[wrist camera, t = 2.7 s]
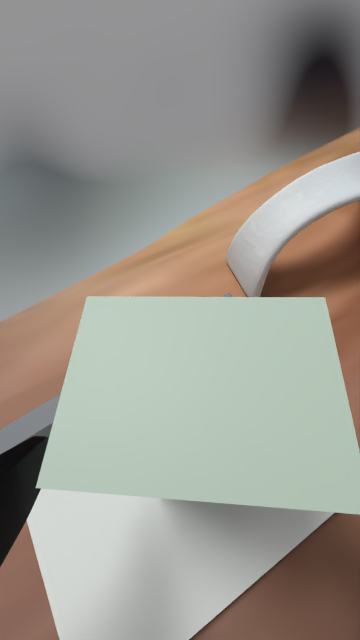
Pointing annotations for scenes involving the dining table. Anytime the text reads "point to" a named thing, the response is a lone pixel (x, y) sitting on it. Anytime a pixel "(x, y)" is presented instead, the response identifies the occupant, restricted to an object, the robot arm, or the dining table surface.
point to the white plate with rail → (147, 553)
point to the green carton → (206, 404)
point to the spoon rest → (290, 218)
